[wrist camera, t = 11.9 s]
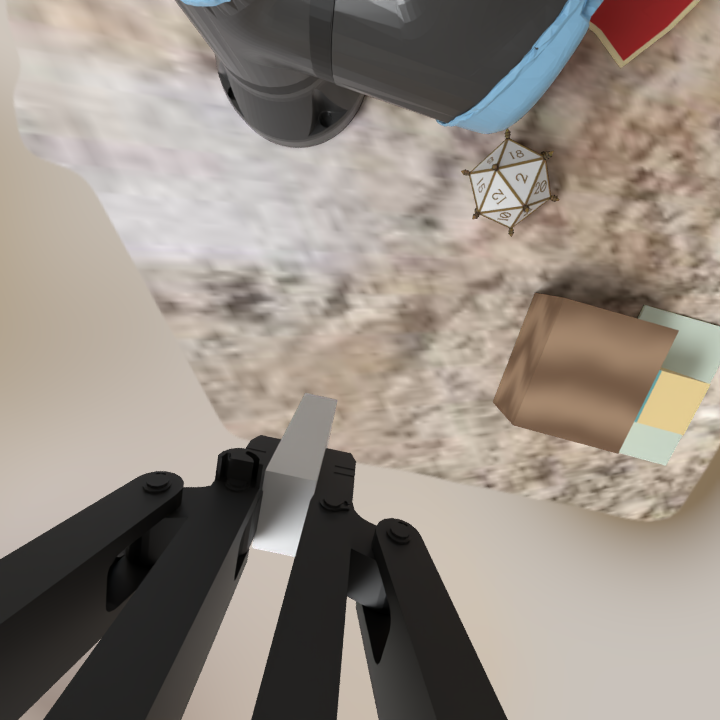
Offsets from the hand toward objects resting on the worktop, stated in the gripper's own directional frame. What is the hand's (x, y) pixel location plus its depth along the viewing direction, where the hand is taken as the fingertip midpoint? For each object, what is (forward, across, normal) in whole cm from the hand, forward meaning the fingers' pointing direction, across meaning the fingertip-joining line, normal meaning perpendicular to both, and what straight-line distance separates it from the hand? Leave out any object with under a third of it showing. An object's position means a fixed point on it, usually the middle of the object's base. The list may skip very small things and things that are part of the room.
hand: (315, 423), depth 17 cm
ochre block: (+26, +32, 0) cm, 41 cm away
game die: (+29, +12, +18) cm, 36 cm away
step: (+29, +26, +1) cm, 39 cm away
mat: (+29, +38, 0) cm, 48 cm away
